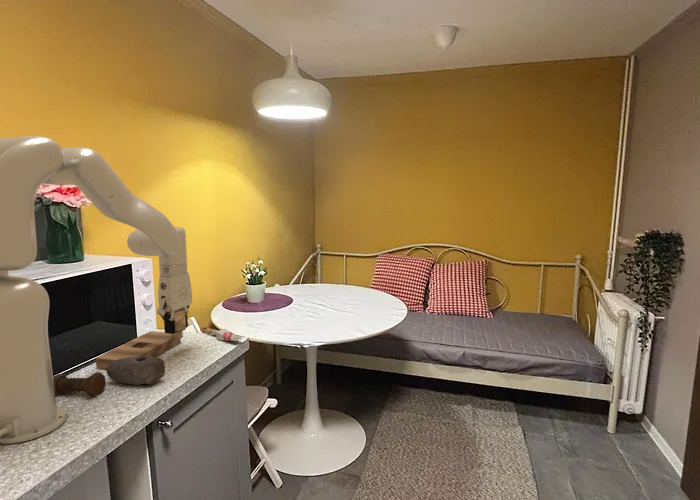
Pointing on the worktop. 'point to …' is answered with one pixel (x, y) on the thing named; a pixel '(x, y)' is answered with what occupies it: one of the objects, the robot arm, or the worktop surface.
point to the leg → (179, 323)
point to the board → (139, 348)
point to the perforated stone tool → (136, 370)
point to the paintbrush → (221, 334)
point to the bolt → (80, 384)
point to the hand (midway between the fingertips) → (176, 329)
